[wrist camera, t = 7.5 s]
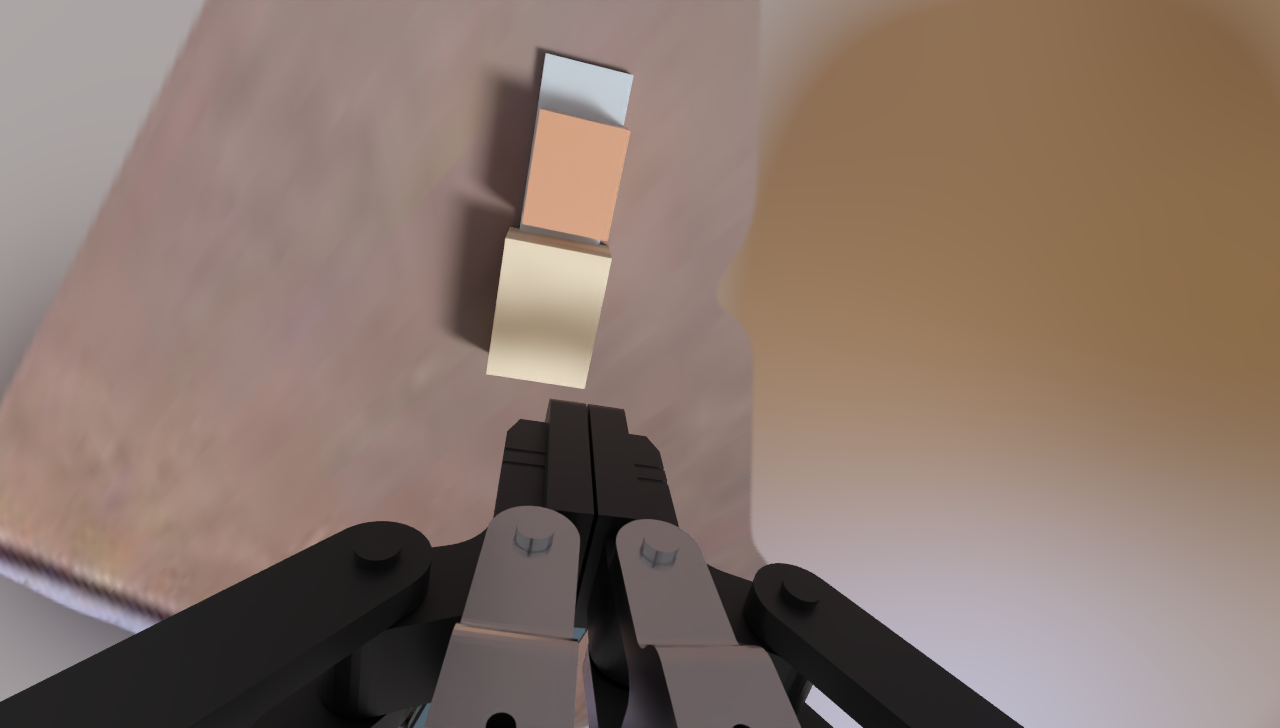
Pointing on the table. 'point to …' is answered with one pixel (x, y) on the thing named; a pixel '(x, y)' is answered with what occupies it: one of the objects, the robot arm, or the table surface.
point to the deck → (547, 308)
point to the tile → (575, 174)
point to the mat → (580, 107)
